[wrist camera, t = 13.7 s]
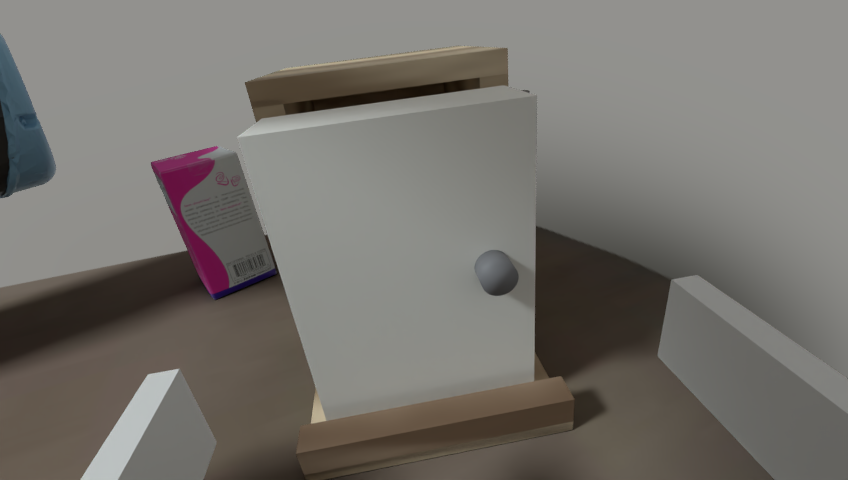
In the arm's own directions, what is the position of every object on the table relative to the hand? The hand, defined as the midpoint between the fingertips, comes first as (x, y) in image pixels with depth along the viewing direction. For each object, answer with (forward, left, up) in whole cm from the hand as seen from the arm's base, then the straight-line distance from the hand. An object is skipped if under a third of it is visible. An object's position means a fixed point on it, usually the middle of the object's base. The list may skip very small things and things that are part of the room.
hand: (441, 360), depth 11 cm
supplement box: (-31, 0, -10) cm, 33 cm away
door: (-8, +4, -10) cm, 13 cm away
